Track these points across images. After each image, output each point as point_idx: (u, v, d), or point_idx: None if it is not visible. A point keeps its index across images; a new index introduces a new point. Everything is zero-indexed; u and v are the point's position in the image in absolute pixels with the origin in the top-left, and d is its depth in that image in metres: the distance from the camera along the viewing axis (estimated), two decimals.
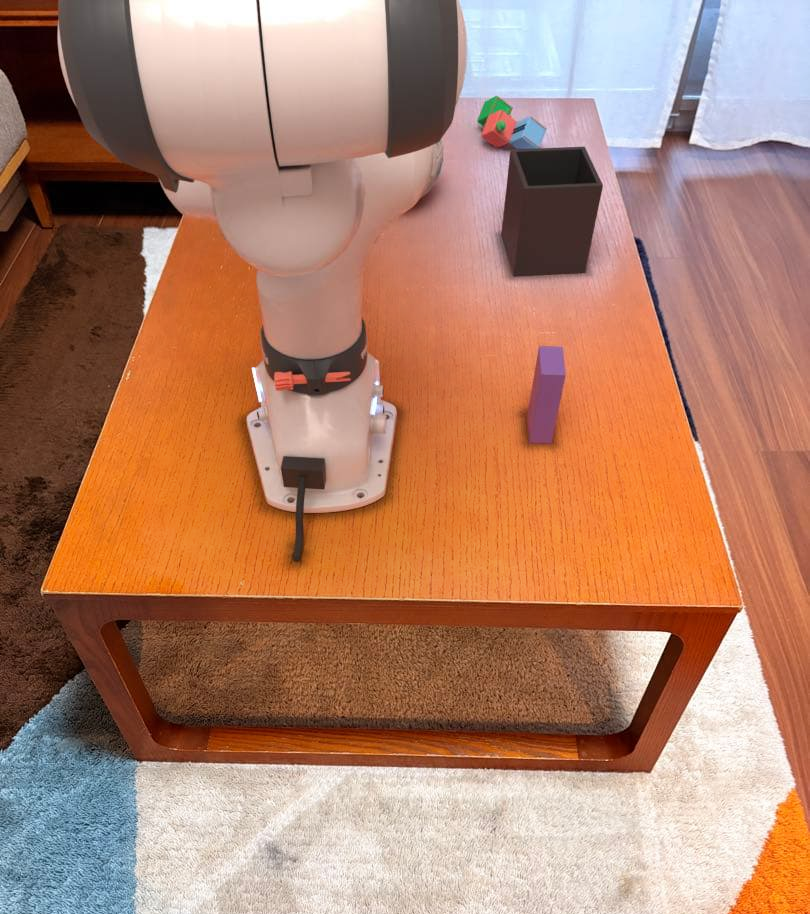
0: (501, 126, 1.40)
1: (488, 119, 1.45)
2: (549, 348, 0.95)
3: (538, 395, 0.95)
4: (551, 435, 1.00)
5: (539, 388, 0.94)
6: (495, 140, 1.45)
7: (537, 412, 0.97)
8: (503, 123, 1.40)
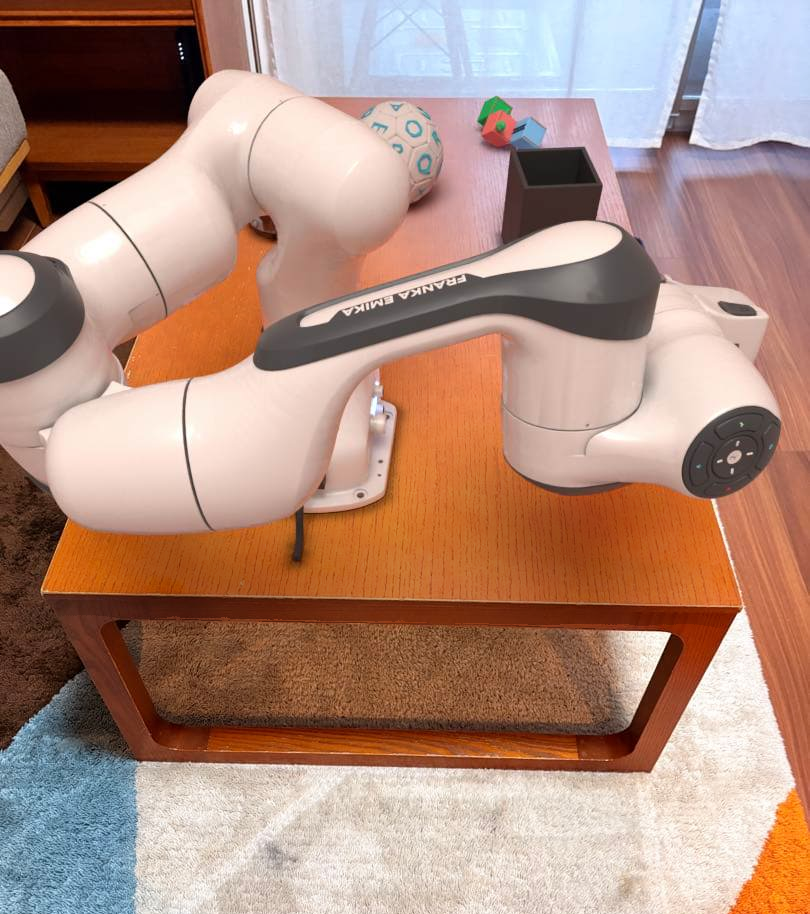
0: (501, 126, 1.40)
1: (488, 119, 1.45)
2: None
3: None
4: None
5: None
6: (495, 140, 1.45)
7: None
8: (503, 123, 1.40)
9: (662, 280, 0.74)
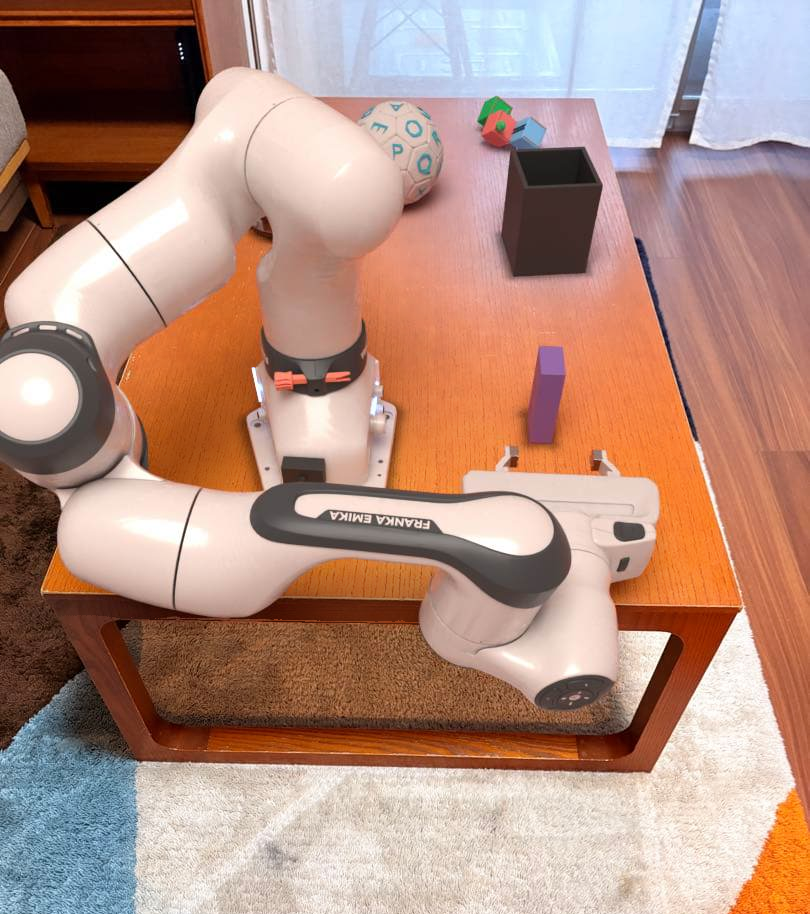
0: (501, 126, 1.40)
1: (488, 119, 1.45)
2: (549, 348, 0.95)
3: (538, 395, 0.95)
4: (551, 435, 1.00)
5: (539, 388, 0.94)
6: (495, 140, 1.45)
7: (537, 412, 0.97)
8: (503, 123, 1.40)
9: (598, 460, 0.87)
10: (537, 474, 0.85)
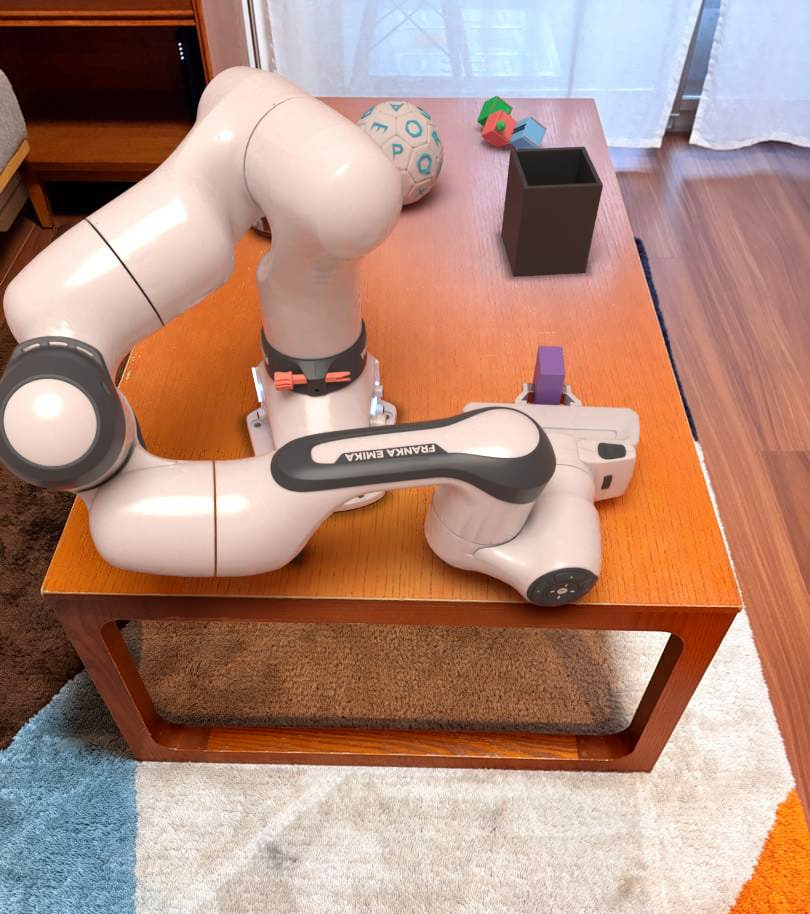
0: (501, 126, 1.40)
1: (488, 119, 1.45)
2: (549, 348, 0.95)
3: (538, 395, 0.95)
4: None
5: (539, 388, 0.94)
6: (495, 140, 1.45)
7: None
8: (503, 123, 1.40)
9: (562, 393, 0.97)
10: (530, 405, 0.94)
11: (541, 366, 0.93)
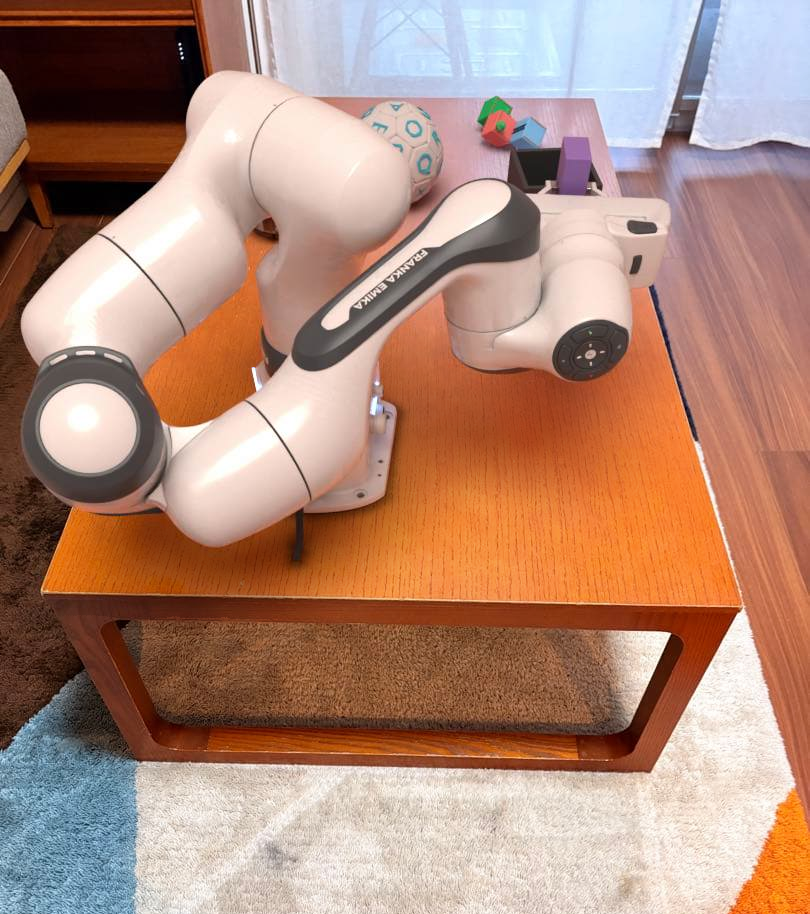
0: (501, 126, 1.40)
1: (488, 119, 1.45)
2: (574, 138, 0.90)
3: (562, 187, 0.90)
4: None
5: (563, 178, 0.89)
6: (495, 140, 1.45)
7: None
8: (503, 123, 1.40)
9: (588, 189, 0.91)
10: (554, 195, 0.89)
11: (566, 152, 0.88)
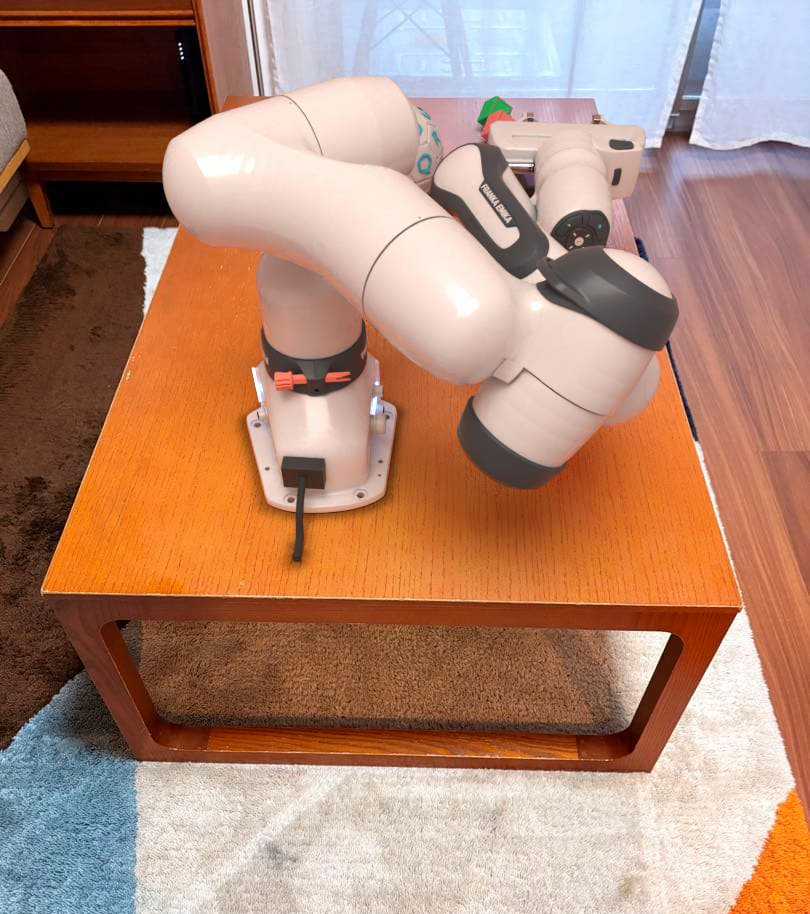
0: None
1: (488, 119, 1.45)
2: None
3: None
4: None
5: None
6: None
7: None
8: None
9: (597, 120, 1.09)
10: None
11: None
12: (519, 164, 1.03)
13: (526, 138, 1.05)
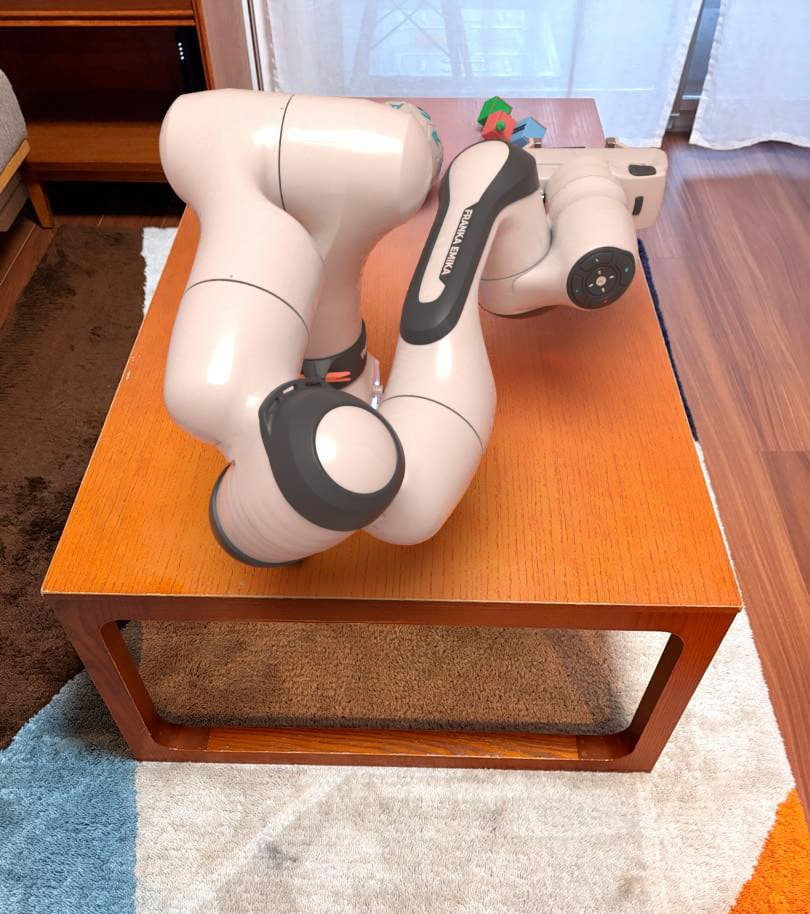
0: (501, 126, 1.40)
1: (488, 119, 1.45)
2: None
3: None
4: None
5: None
6: None
7: None
8: (503, 123, 1.40)
9: (611, 143, 0.99)
10: (559, 148, 0.96)
11: None
12: None
13: None
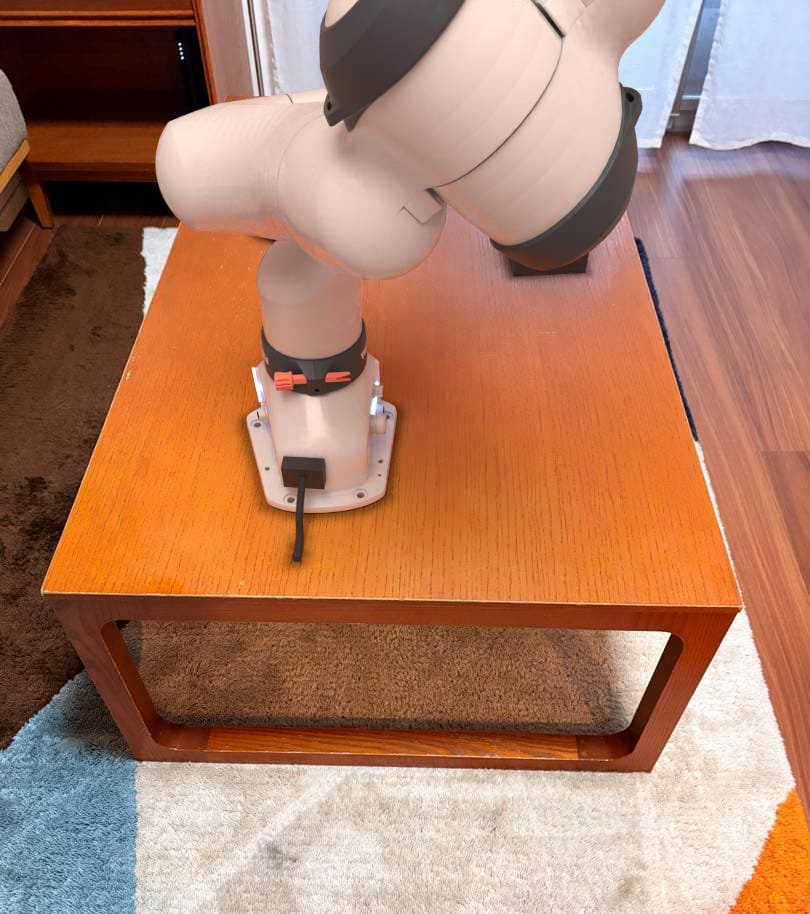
0: None
1: None
2: None
3: None
4: None
5: None
6: None
7: None
8: None
9: None
10: None
11: None
12: None
13: None
